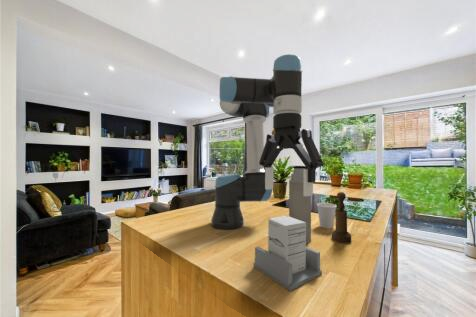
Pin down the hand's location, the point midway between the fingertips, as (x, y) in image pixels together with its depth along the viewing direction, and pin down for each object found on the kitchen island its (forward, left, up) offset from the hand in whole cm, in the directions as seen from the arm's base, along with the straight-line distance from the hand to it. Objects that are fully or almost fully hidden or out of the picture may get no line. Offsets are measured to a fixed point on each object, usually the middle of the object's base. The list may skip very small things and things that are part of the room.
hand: (286, 192), depth 55 cm
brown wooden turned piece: (-3, +34, -21) cm, 40 cm away
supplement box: (0, 0, -20) cm, 20 cm away
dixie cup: (-15, +44, -21) cm, 51 cm away
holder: (0, 0, -21) cm, 21 cm away
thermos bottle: (-12, +21, -21) cm, 32 cm away
